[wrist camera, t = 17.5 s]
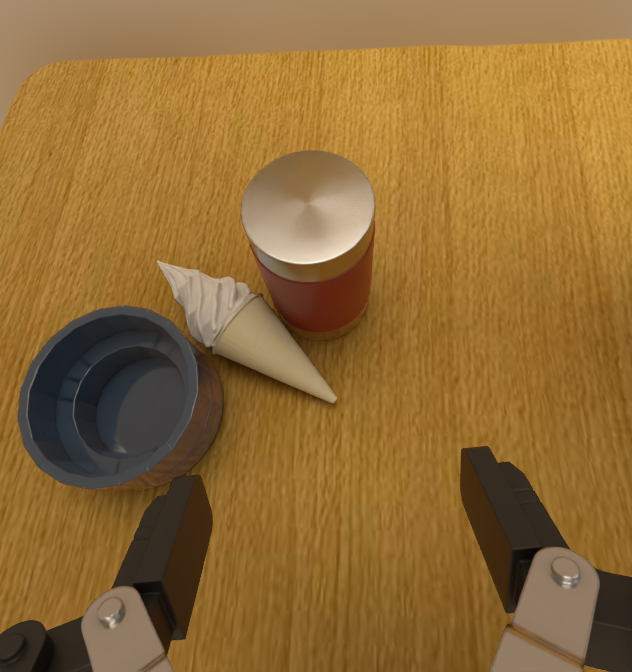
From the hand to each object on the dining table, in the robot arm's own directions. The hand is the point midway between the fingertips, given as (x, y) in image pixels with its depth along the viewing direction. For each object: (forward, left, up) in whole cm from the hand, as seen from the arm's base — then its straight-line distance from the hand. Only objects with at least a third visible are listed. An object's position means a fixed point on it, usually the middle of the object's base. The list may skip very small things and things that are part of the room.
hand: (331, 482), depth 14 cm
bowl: (+10, -10, -15) cm, 20 cm away
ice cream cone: (-2, -5, -14) cm, 15 cm away
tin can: (-5, -12, -15) cm, 20 cm away
